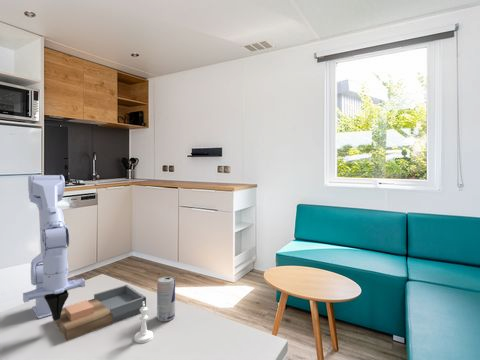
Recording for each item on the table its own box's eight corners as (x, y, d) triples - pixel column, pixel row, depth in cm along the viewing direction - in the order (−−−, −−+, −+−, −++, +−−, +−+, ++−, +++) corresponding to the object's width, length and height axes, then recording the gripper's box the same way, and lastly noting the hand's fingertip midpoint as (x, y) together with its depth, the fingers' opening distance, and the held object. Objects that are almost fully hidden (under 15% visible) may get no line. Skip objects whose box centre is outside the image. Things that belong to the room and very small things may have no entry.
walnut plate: (53, 320, 85) (53, 311, 85) (95, 307, 94) (95, 298, 94) (67, 340, 75) (67, 329, 75) (113, 323, 84) (113, 313, 84)
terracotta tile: (64, 313, 84) (64, 306, 84) (86, 306, 88) (86, 300, 88) (71, 321, 80) (70, 314, 79) (93, 313, 84) (93, 306, 84)
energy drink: (177, 313, 90) (177, 276, 90) (171, 322, 85) (171, 283, 85) (161, 312, 91) (161, 275, 90) (154, 321, 86) (154, 282, 85)
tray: (94, 307, 93) (94, 294, 93) (126, 296, 101) (126, 284, 101) (111, 324, 84) (111, 309, 84) (146, 310, 92) (146, 297, 92)
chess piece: (135, 345, 74) (135, 307, 74) (133, 335, 78) (132, 299, 78) (154, 340, 76) (154, 303, 76) (151, 330, 81) (151, 296, 80)
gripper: (26, 282, 71) (27, 335, 72) (88, 268, 81) (88, 314, 82) (21, 274, 76) (21, 324, 76) (80, 262, 86) (80, 305, 87)
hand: (56, 318), depth 80 cm, fingers closed
